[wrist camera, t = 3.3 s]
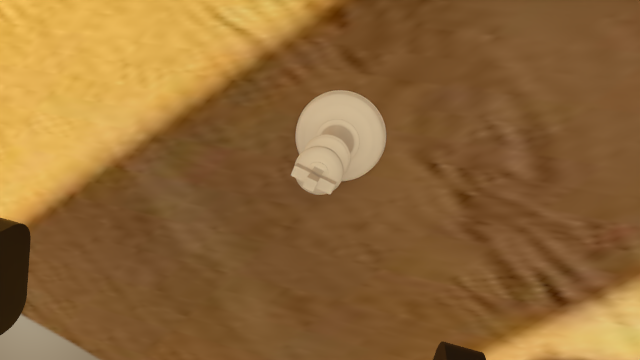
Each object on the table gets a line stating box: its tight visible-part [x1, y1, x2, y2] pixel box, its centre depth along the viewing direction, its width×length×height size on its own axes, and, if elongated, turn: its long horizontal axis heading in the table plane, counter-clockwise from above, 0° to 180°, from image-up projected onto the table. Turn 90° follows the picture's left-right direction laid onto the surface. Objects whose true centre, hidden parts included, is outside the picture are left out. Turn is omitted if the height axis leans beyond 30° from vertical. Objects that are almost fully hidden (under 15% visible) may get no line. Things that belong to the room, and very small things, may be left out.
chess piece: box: [291, 90, 386, 195], centre depth 24 cm, size 5×5×10 cm
